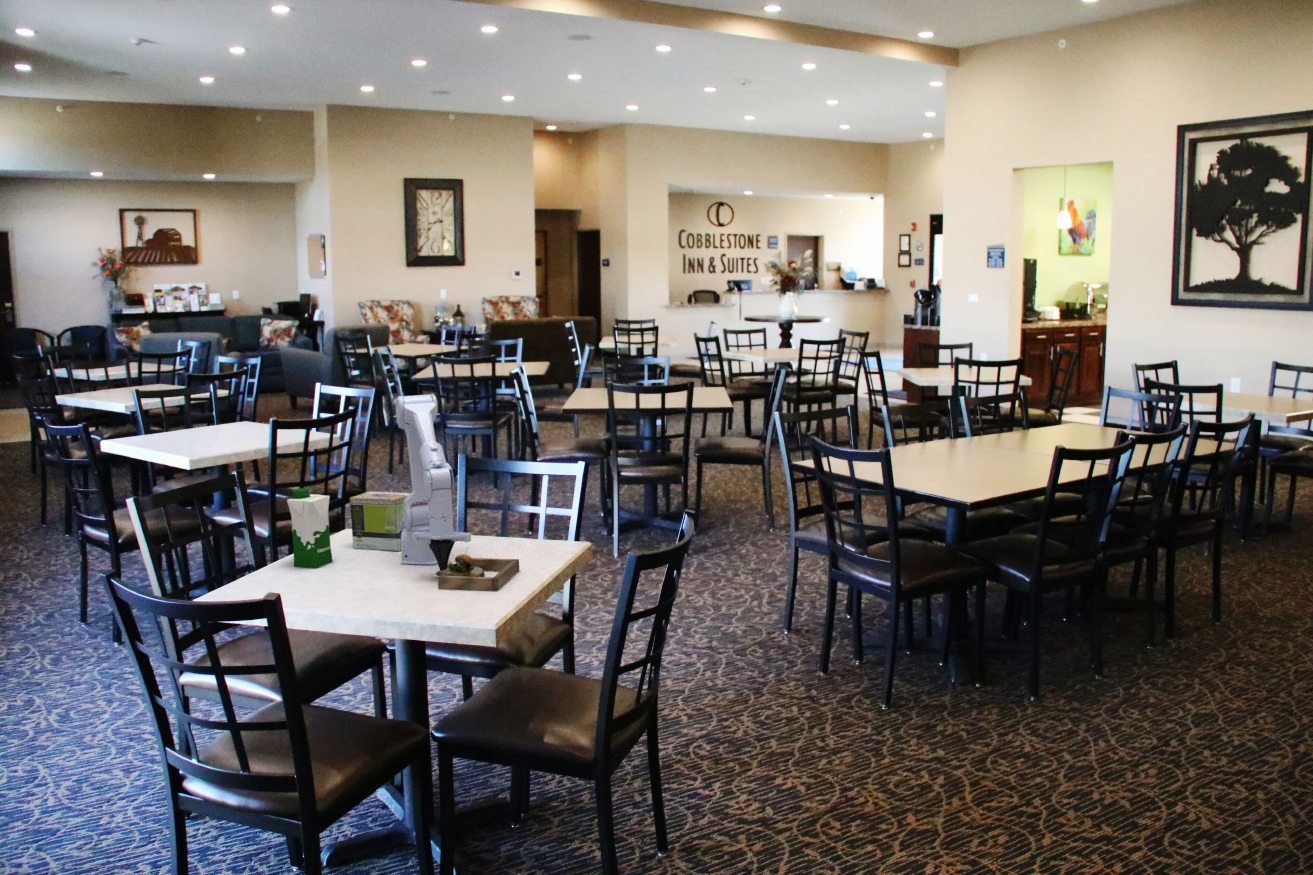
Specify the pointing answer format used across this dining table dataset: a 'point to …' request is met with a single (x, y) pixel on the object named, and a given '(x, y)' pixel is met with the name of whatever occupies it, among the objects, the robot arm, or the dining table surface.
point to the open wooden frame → (504, 567)
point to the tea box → (377, 520)
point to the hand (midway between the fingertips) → (443, 569)
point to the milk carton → (310, 529)
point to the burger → (462, 568)
